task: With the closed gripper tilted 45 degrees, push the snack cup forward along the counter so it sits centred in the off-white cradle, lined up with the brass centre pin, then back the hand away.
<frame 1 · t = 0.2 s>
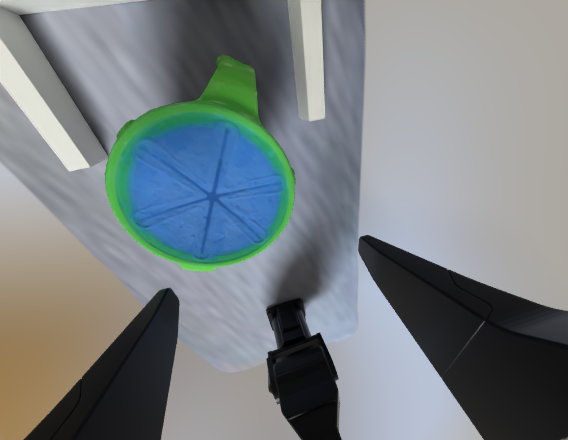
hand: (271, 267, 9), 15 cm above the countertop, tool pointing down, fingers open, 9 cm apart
snack cup: (217, 159, 21), on the countertop
centring cradle: (189, 76, 17), on the countertop
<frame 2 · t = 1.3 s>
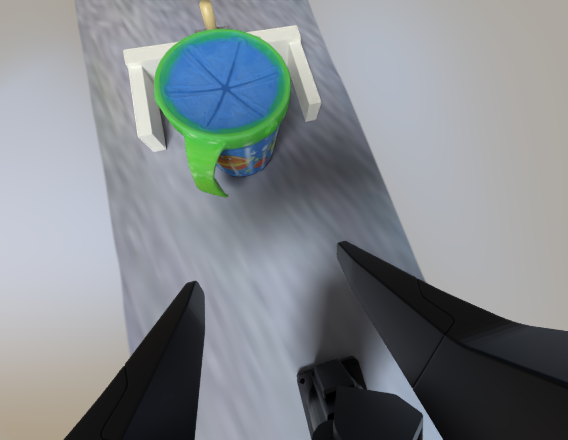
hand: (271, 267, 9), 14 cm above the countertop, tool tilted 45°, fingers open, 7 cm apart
snack cup: (242, 151, 26), on the countertop
centring cradle: (230, 104, 27), on the countertop
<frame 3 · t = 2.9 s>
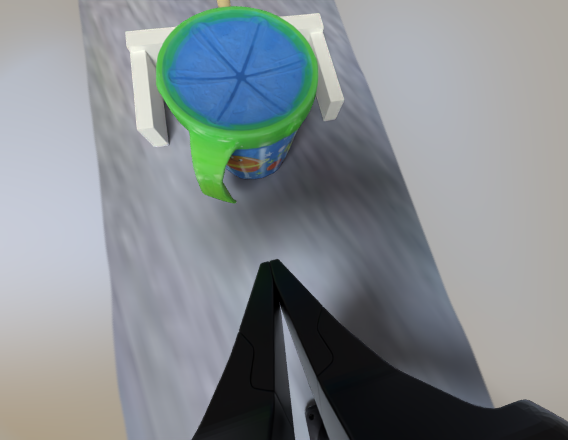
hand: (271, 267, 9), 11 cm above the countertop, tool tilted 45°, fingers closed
snack cup: (253, 151, 23), on the countertop
centring cradle: (242, 97, 24), on the countertop
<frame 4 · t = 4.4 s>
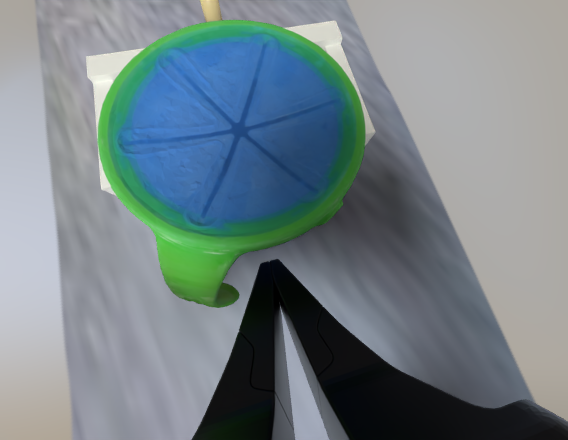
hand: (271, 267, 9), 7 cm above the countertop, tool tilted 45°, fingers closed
snack cup: (257, 199, 18), on the countertop, touching gripper
centring cradle: (241, 130, 19), on the countertop
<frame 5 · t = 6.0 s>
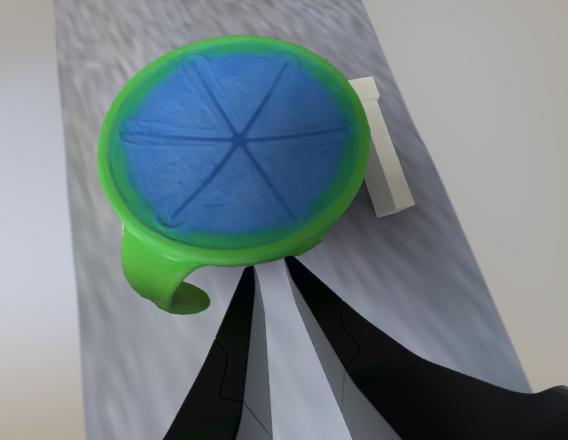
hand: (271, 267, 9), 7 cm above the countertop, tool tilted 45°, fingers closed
snack cup: (262, 212, 18), on the countertop, touching centring cradle, gripper
centring cradle: (267, 188, 18), on the countertop
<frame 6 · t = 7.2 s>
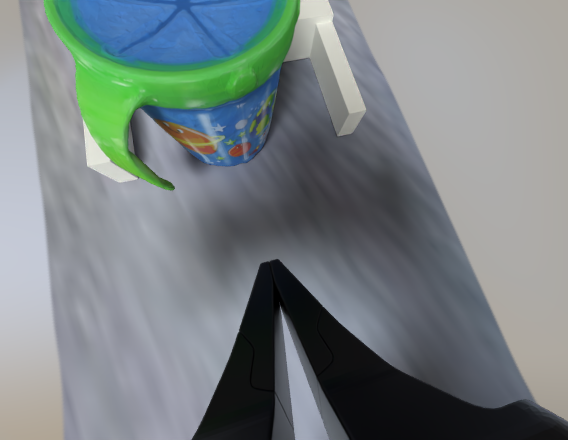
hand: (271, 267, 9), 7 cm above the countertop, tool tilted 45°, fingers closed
snack cup: (228, 133, 19), on the countertop
centring cradle: (231, 111, 19), on the countertop
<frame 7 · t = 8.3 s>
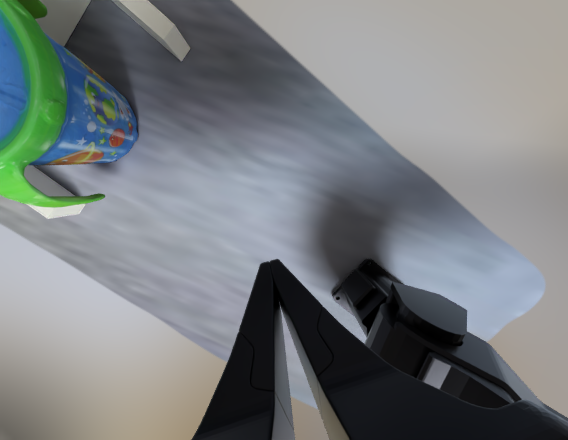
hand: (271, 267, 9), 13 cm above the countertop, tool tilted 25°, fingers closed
snack cup: (105, 125, 21), on the countertop
centring cradle: (90, 104, 20), on the countertop
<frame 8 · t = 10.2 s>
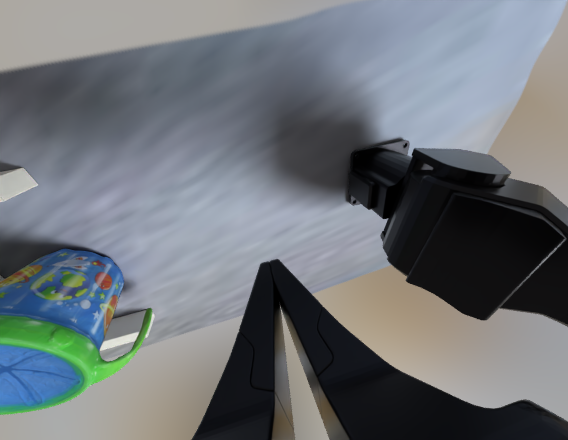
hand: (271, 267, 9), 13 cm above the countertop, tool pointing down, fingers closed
snack cup: (86, 271, 22), on the countertop
centring cradle: (59, 272, 21), on the countertop
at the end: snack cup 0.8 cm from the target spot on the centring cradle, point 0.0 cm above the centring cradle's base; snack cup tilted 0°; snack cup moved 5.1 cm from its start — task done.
